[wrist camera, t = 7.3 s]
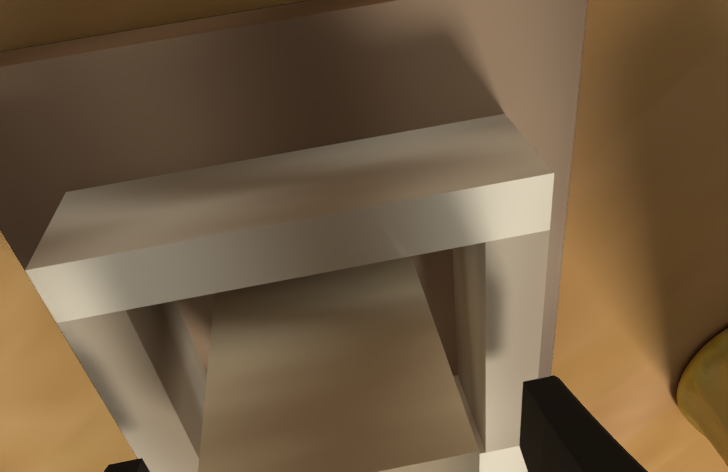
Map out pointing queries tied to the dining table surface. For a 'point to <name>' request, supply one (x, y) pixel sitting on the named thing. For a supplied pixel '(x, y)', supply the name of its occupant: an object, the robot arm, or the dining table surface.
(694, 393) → the vase
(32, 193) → the socket board
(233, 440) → the birch peg
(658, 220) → the dining table surface
